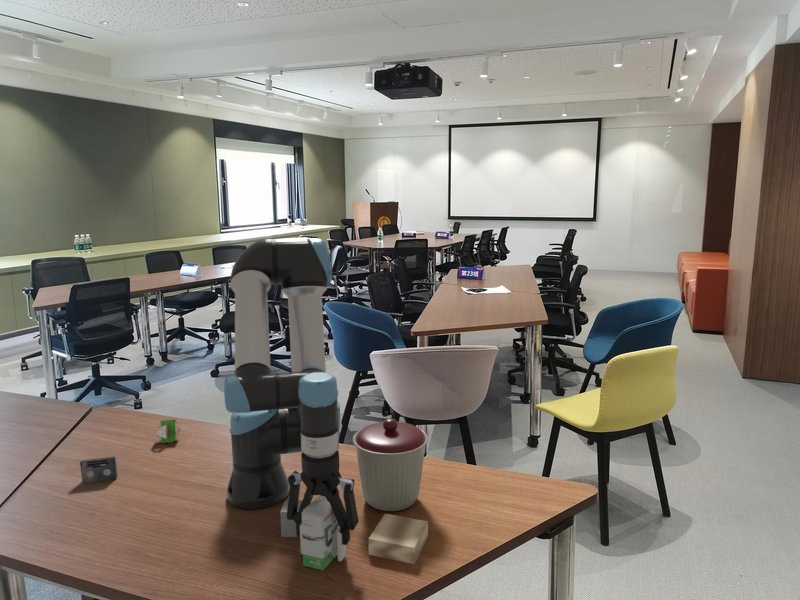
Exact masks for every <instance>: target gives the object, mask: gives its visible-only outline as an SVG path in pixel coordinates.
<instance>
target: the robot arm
mask: <svg viewBox="0 0 800 600" xmlns="http://www.w3.org/2000/svg"><path fill="white" fill-rule="evenodd" d="M332 269H333V267H332V262H331V256H330V252H329V249H328V246H327V242H325V241H324V240H323V239H322V238H315V237H314V238H313V237H312V238H311V237H307V236H306V237H297V238H296V237H291V238H264V239H260V240H257V241H255V242H253V243H252V244H250V245H249V246H247V247H246V248H245V249H244V250H243V251H242V252H241V253H240V255H239V256H238V257H237V259H236V260H235V262H234V264H233V266H232V270H231V274H230V288H231V291H232V292H233V293H234V375H232V376H229V377H226V378H225V379H224V385H223V389H224V391H223V393H224V395H223V396H224V405H225V406H224V407H225V410H226V411H227V412H228V413H232V414H231V415H230V429H229V433H230V436H231V454H232V456H231V457H232V471H231V475H230V477H229V482H228V485H227V487H226V489H227V491H226V496H227V501H228V503H229V504H230V505H231V506H233V507H234V508H238V509H241V510H261V509H266V508H269V507H273V506H275V505H278V504H279V503H281V502H283V501H285V499H286V498H287V497H288V499H287V500H288V509H287V519H288V520H291V519H292V520H293V521H295V523H296V535H297V537H296V538H299V540H300V542H299V544H300V555H303V539H302V538H303V537H302V512H303V510H304V509H305V508H306V507H307V506H308V505H310V504H311V503H312V500H313V497H314V496H320V495H321V496H324V497H326V499H327V501H328V502H329V503H330V505H331V507H332V510H333V512H334V515H335V517H336V519H337V522H338V524H339V527H340V528H339V530H338V531H337V546H338V554H337V561H338V562H342V561H343V559H344V558H345V556H346V555H347V546H348V543H350V541H351V540H350V539H351V531H354V530H355V529H356V527H357V525H358V524H359V522H360V521H359V516H358V515H359V514H358V511H357V510H358V509H357V504H356V499H355V492H354V487H355V480H354V478H350V479H349V480H348V479H346V478H343V476H342V475H341V473H340V451H339V448H340V441H339V440H340V439H339V434H340V428H341V426H340V425H341V405H340V403H339V401H338V396H339V390H338V385H337V383H338V382H337V379H336V376H334V375H333V374H331V373H328V372H327V371H326V368H327V367H326V352H325V351H326V349H325V337H324V336H325V335H324V318H323V317H324V315H323V313H324V312H323V298H322V297H323V294H324V293H325V292H326V291H327V290H328V286H327V285H328V284H329V283H331V282H332V281H333V271H332ZM327 283H328V284H327ZM272 285H280V286H281V289H280V290H281V292H282V293H283V294H284V295H285V296H286V297H287V303H288V305H287V307H288V320H289V321H288V323H289V327H288V328H289V342H290V343H289V344H290V346H289V347H290V360H291V361H290V365H291V367H290V368H291V372H281V373H271V372H272V371H271V369H272V368H271V367H272V366H271V352H270V351H271V350H270V349H271V346H270V327H269V323H270V322H269V304H268V303H269V302H268V299H269V298H268V292H269V291H270V289H271V288H272ZM298 453H301V454H300V455H301V470H302V472H298V471H297V470H294V471H293V472H292V473H291V474H290V475H288V477H287V474H286V472H285V468H284V466H283V464H282V457H281V455H286V454H298ZM301 482H302V483H303V484H304V485H305V492H304V493H303V494H304V495H303V498H302V500H303V501H302V503H301V506H300V508H299V511H298V512H297V509H298V500H299V499H300V489H301ZM338 486H340V487H341V492H343V495H342V496H343V500H342V501H341V499H340V498H341V497H340V490H339V488H338ZM343 502H344V504H343Z"/></svg>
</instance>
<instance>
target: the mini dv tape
mask: <svg viewBox="0 0 800 600" xmlns="http://www.w3.org/2000/svg"><path fill="white" fill-rule="evenodd" d="M79 466H80V473H81V474H80V475H81V480H82V481H81V483H82V484H85V483H94V482H95V483H97V482H103V481H111V480H113V481H114V480H118V475H119V474H118V463H117V457H116V456H109V457H98V458H92V459H91V458H90V459H82V460H81V459H80V462H79Z"/></svg>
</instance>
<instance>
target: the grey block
mask: <svg viewBox="0 0 800 600" xmlns="http://www.w3.org/2000/svg"><path fill="white" fill-rule="evenodd" d="M288 500H289V499H286V500H285V499H284V503H283V505H282V508H281V510H280V514H279V515H280V533H281V534H280V535H281V538H298V537H297V535H296V523H295V521H293V520H292V519H291V520H288V519H287V509H288ZM302 501H303V499H300V500H298V509H297V512H298V511H299V508H300V506H301V503H302Z"/></svg>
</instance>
